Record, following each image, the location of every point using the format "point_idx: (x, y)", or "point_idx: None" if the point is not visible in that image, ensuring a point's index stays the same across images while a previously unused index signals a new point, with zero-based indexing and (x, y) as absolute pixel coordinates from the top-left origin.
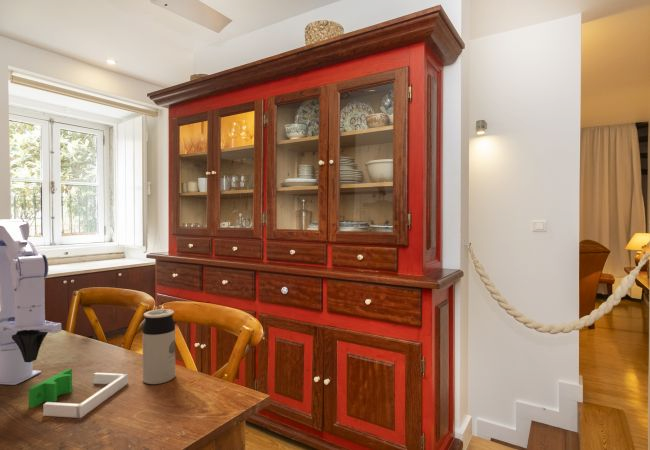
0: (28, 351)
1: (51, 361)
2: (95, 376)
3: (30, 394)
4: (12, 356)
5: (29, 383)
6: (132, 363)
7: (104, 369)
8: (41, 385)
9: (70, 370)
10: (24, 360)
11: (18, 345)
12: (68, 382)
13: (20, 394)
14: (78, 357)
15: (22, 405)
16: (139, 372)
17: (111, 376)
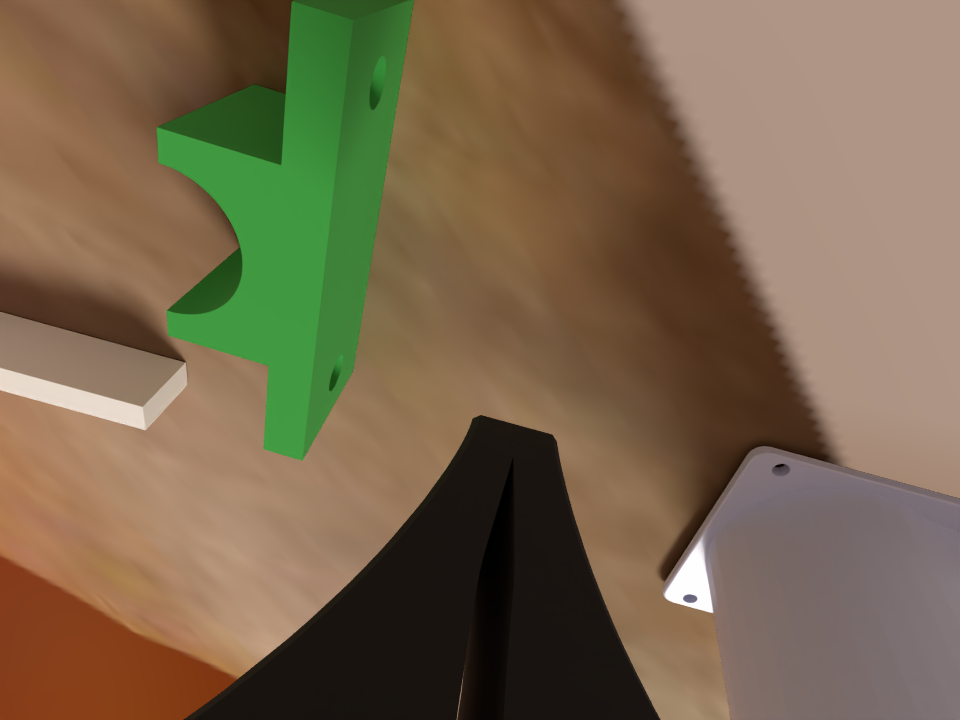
0: (419, 524)
1: (677, 704)
2: (137, 390)
3: (352, 5)
4: (870, 693)
5: (664, 454)
6: (161, 576)
7: (271, 542)
8: (288, 126)
9: (267, 433)
10: (545, 445)
11: (621, 688)
12: (212, 281)
13: (637, 283)
14: None
15: (499, 53)
16: (20, 460)
17: (4, 359)
